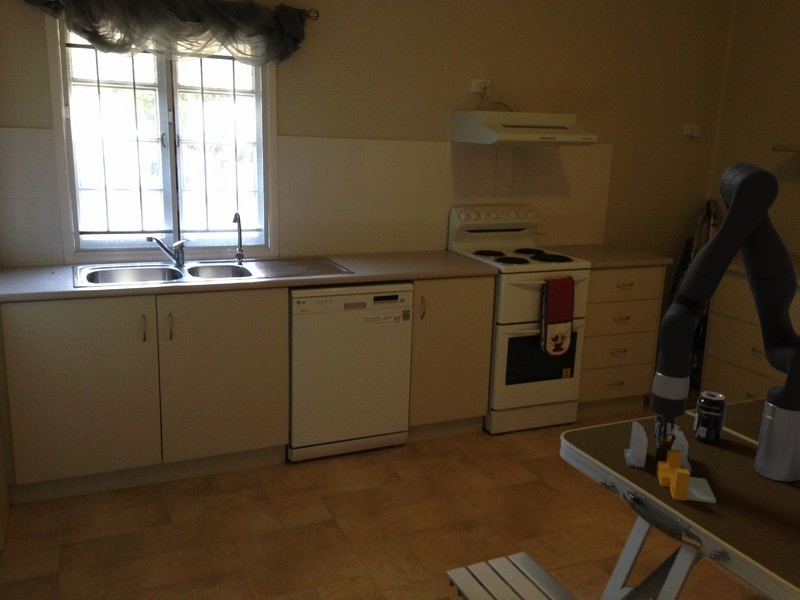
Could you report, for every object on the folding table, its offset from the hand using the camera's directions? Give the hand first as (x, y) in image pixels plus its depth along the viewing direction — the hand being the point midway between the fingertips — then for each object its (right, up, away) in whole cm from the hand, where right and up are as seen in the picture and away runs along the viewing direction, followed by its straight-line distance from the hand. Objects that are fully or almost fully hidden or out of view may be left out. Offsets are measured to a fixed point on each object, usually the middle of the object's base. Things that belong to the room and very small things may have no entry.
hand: (659, 461), depth 166 cm
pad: (+5, -4, -8) cm, 11 cm away
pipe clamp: (0, -4, -7) cm, 8 cm away
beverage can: (+19, +2, +19) cm, 27 cm away
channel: (+1, -1, +6) cm, 6 cm away
